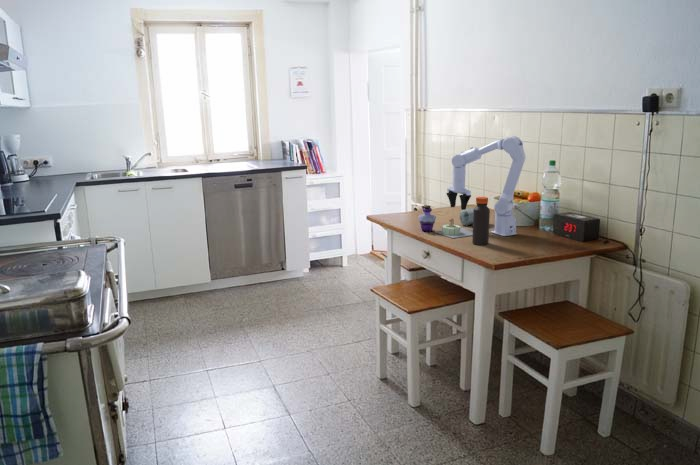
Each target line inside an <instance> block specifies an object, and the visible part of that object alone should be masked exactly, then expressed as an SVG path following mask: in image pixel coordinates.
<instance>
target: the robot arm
mask: <svg viewBox="0 0 700 465" xmlns="http://www.w3.org/2000/svg"><path fill="white" fill-rule="evenodd" d="M495 150H499V151H500V150H501V151H502V150H503V151H505V152H506V153H507V154H508V155H509V156H510V158H511V160H512V162H511V165H510V168H509V171H508V175H507V177H506V180H505V184H504V187H503V190H502V193H501V194H500V197H499V198H498V200H497V202H496V203H495V204H494V206H493V209H494V212H495V214H494V216H495V217H494V230H491V231H490V230H489V233H492V234H496V235H498V236H499V235H500V236H502V237H507V236H513V235H514V236H515V235H518V233H517V219H516V217H515V216H513V214H512V209H513V208H514V203H513V202H514V194H515V191H516V188H517V185H518V182H519V179H520V175H521V172H522V169H523V168H524V164H525V161H526V153H525V150H524V143H523V141H522V140H521V139H520V137H518V136H516V135H515V136H514V135H513V136H509V137H505V138H502V139H498V140H495V141H493V142H491V143H489V144H487V145H484V146H482V147H480V148H479V147H476V146H475V147H473V146H472V147H469V149H468V150H466V151H461V152H460V153H459V154H455V155H454V156H453V157H452V158H451V163H452V166H453V170H452V186H448V187H447V188H446V190H447V192H446V196H447V198H448V201H449V204H450V208H455V207H456V204H457V197H459V199H460V209H461V211H462V210H465V209H467V206H468V203H469V200H470V199H471V197H472V195H471V193H472V192H471V190H468V189H467V188H466V165H467V164H468V165H469V164H471V163H472V162H475V161H478V160H480V159H481V158H482V155H485V154H487V153H491V152H492V151H495ZM458 194H459V195H458Z"/></svg>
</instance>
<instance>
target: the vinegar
mask: <svg viewBox="0 0 700 465" xmlns="http://www.w3.org/2000/svg"><path fill="white" fill-rule="evenodd" d="M475 203H476V206H475V207H473V208H474V210H473V224H472V231H473V236H471V238H472V239H471V240H472V242H471V243H472V244H473V245H476V246H486V245H489V236H490V219H491V218H490V213H491V210H490V208H489V207H488V204H489V198H488V197H487V196H477V197H476V198H475Z"/></svg>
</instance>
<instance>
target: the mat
mask: <svg viewBox="0 0 700 465" xmlns="http://www.w3.org/2000/svg"><path fill="white" fill-rule="evenodd" d="M434 233H435V234H438V235H441V236H445V237H446V238H450V239H458V238H460V239H461V238H466V237H473V230H471V229H468V228H464V227H460V234H457V235H447V234H443V233H442V230H436V231H434Z"/></svg>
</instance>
